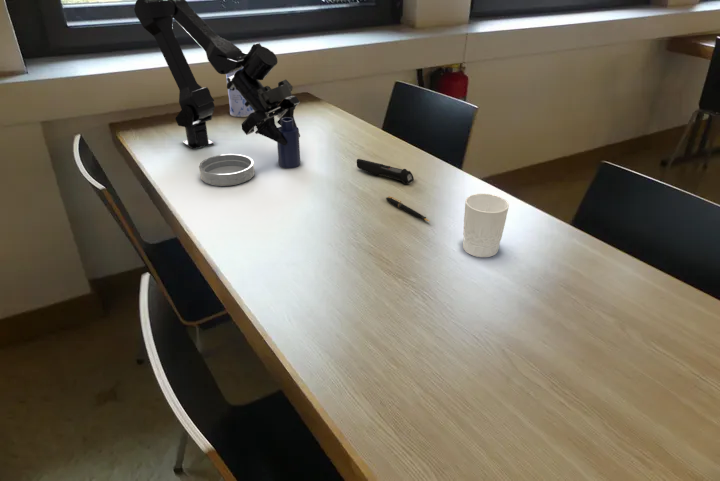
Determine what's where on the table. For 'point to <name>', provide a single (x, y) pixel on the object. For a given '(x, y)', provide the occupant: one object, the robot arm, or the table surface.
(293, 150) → the dark blue vase
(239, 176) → the steel dish
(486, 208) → the white cup
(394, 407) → the table surface
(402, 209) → the fountain pen
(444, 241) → the table surface
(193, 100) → the robot arm
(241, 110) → the aerosol can
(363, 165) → the electric trimmer
